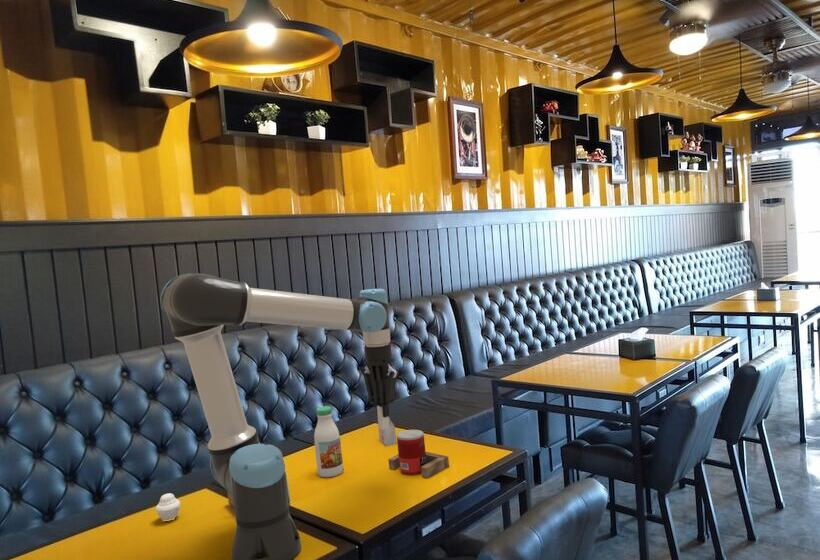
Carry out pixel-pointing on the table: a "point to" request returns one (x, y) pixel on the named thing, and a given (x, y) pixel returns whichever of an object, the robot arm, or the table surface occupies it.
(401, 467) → the canned food
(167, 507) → the muffin
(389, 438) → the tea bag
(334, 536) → the table surface
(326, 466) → the milk bottle
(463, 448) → the table surface
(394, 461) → the wooden u-shaped frame
